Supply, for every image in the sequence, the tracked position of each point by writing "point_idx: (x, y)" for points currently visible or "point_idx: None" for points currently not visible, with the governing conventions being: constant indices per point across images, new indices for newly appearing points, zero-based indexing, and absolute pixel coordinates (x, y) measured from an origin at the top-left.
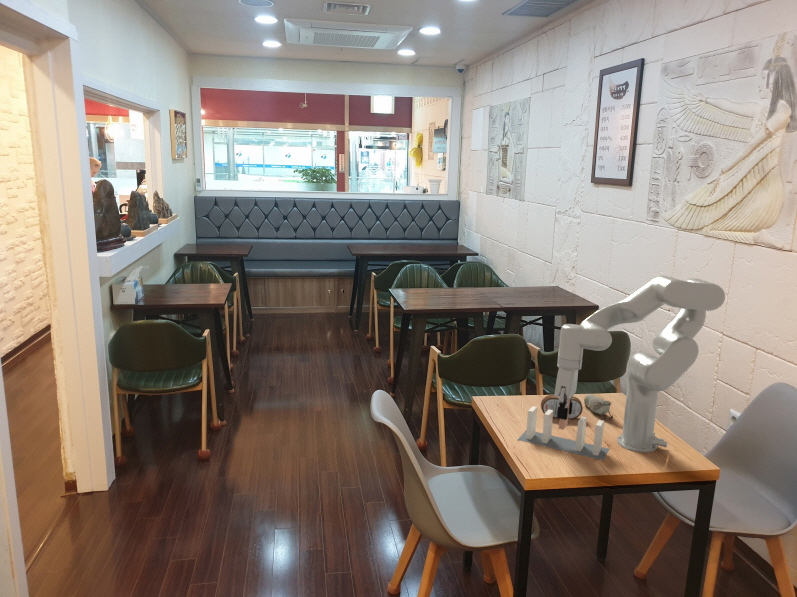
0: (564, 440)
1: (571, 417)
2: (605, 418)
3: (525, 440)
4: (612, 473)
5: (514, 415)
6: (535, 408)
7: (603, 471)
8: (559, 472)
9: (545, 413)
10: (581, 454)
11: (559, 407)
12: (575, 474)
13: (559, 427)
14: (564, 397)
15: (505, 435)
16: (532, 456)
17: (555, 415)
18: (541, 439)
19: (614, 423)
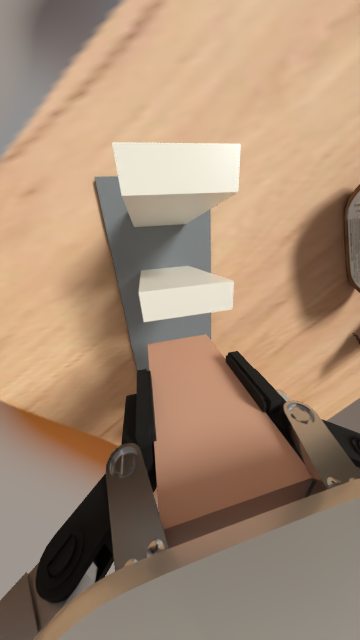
0: (197, 316)
1: (352, 273)
2: (358, 340)
3: (113, 211)
4: (107, 439)
5: (335, 51)
6: (201, 190)
7: (101, 428)
8: (2, 380)
9: (154, 294)
10: None
11: (137, 436)
12: (32, 405)
13: (148, 349)
14: (245, 504)
15: (107, 97)
16: (23, 284)
17: (353, 228)
18: (161, 259)
19: (343, 355)
